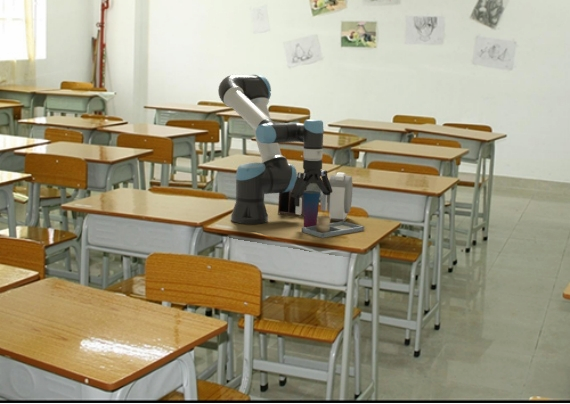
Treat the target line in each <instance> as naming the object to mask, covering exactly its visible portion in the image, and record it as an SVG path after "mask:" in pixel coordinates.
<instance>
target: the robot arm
mask: <svg viewBox="0 0 570 404" xmlns="http://www.w3.org/2000/svg"><path fill="white" fill-rule="evenodd" d="M217 90H218V96H219V100H220V101H221V102H222V103H223V104H224V105H225V106H226V107H228V108H232V109H233V110H234V111H235V112H236V113H237V115H239V116H240V117H241V118H242V119H243V120H244V121H245V122H246V123H247V124H248V125H249V126H250V127H251V128H252V131H253V135H254V137H255V141H256V144H257V147H258V151H259V155H260V157H261V162H247V163H243V164H240V165H239V166H238V167H237V169H236V173H235V174H236V175H235V181H236V184H235V203H234V207H233V209H232V212H231V214H230V215H231V216H230V221H231V222H234V223H237V224H241V225H242V224H244V225H256V224H257V225H260V224H265V223H267V222H268V220H269V215H268V211H267V208H266V204H265V195H269V194H279V193H284V192H289V191H291V190H292V189H293V190H292V192H291V196H292V197H294V198H295V206H296V213H295V214H298V215H300V216H302V215H303V214H302V198H300V197H301V196H302V194H303V192H304V191H305V189H306V187H308V186H309V185H311V184H316V185H317V186H318V188H319V190H320V191H321V192H322V193H320V211H322V212H328V208H327V202H328V195H330V193H332V188H331V185H330V182H329V179H330V178H329V177H328V171H327V170H325V169H324V170H323V160H322V159H323V156H324V155H323V151H324V150H323V148H324V131H325V130H324V122H323V120H322V119H312V118H311V119H309V118H308V119H305V120H304V121H303V123H302V122H297V121H293V122H292V121H291V122H287V123H283V122H282V123H281V122H280V123H276V122H275V121H273V120H272V119H271V116H270V115H271V114H270V112H269V108H268V105H269V102H270V99H271V96H272V95H271V94H272V93H271V92H272V87H271V84H270V82H269V80H268V79H267V78H266V77H265V76H263V75H258V74H232V75H228V76H226V77H225V78H223V79H222V81H221V82H220V83H219V86H218V89H217ZM279 143H280V144H281V143H282V144H283V143H303V152H302V153H303V155H302V156H303V161H302V168H303V172H299V171H298V172H297V169H296V167H295V165H293V164H292V163H288V160H287V157H286V156H283V155H282V151H281V149H280V145H279ZM306 190H307V189H306ZM301 214H302V215H301Z"/></svg>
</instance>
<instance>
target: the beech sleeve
mask: <svg viewBox="0 0 570 404" xmlns="http://www.w3.org/2000/svg"><path fill="white" fill-rule="evenodd" d="M330 223H331V218H330V217H329V216H326V215H325V216H324V215H322V216H321V215H320V216H319V215H318V217H317V229H316V231H317V232H320V233H326V232H330Z"/></svg>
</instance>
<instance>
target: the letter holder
mask: <svg viewBox="0 0 570 404" xmlns="http://www.w3.org/2000/svg"><path fill="white" fill-rule="evenodd" d="M307 187H308V186H307ZM307 187H306V189H305V191H306V190H308V189H307ZM292 190H293V189H292ZM292 190H291V191H289V192H284V193H278V206H277V207H278V208H277V214H278V213H280V214H279V215H286V214H287V215H288V216H294V215H295V217H297V216H298V217H300V216H301V215H298V214H295V213H296V206H295V198H294V197H292V196H291V192H292ZM300 198H302V215H303V194H302V196H301V197H300Z"/></svg>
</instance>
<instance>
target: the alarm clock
mask: <svg viewBox="0 0 570 404" xmlns="http://www.w3.org/2000/svg"><path fill="white" fill-rule="evenodd" d="M328 179H329V182H330V185H331V188H332V193H330V195H328V202H327V212H329V214H328V215H329V216H328V217H330V221H335V222H341V221H345V222H346V220H347V219H346V218H347V215H348V214H349V213H350V212H351V207H352V201H353V188H354V187H353V177H352V176H351V175H347V173H346V172H339V171H338V172H337V173H336V174H331V175H330V176H329V178H328Z"/></svg>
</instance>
